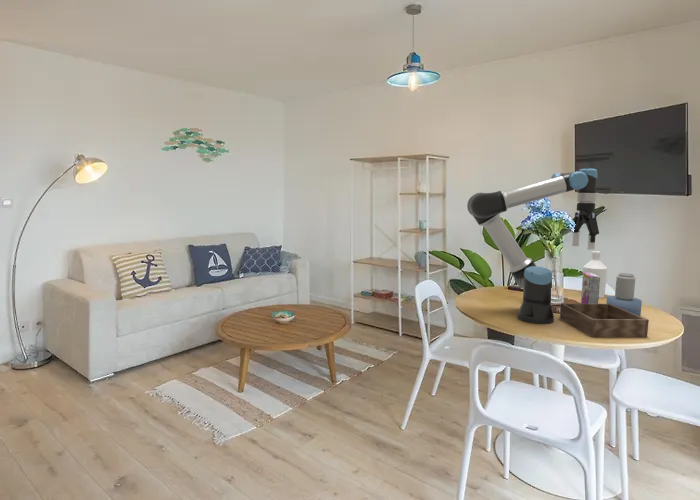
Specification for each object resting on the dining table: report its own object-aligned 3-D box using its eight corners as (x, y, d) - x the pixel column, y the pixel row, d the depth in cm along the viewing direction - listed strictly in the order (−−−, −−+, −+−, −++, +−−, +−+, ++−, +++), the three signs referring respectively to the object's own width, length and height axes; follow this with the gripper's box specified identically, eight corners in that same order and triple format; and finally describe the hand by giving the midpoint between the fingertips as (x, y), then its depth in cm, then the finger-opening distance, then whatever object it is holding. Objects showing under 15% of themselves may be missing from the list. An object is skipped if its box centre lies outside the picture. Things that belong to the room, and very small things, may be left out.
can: (612, 298, 206) (614, 273, 205) (617, 296, 212) (619, 271, 210) (631, 301, 201) (633, 275, 200) (635, 299, 206) (637, 273, 205)
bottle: (586, 292, 257) (589, 249, 253) (608, 295, 248) (612, 251, 244) (577, 295, 249) (580, 251, 246) (600, 299, 240) (603, 253, 237)
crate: (591, 336, 176) (593, 320, 175) (559, 318, 202) (560, 303, 201) (647, 336, 176) (648, 320, 176) (608, 318, 203) (609, 303, 202)
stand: (617, 319, 200) (618, 302, 199) (599, 311, 214) (600, 295, 213) (647, 319, 201) (649, 302, 200) (627, 311, 214) (629, 295, 213)
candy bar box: (580, 303, 231) (582, 272, 229) (590, 303, 230) (593, 272, 228) (587, 308, 220) (589, 276, 218) (598, 308, 219) (600, 276, 217)
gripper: (610, 203, 192) (606, 251, 195) (579, 201, 217) (577, 244, 220) (593, 203, 192) (589, 251, 195) (564, 201, 217) (562, 244, 219)
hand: (582, 247), depth 207 cm, fingers open, 13 cm apart
